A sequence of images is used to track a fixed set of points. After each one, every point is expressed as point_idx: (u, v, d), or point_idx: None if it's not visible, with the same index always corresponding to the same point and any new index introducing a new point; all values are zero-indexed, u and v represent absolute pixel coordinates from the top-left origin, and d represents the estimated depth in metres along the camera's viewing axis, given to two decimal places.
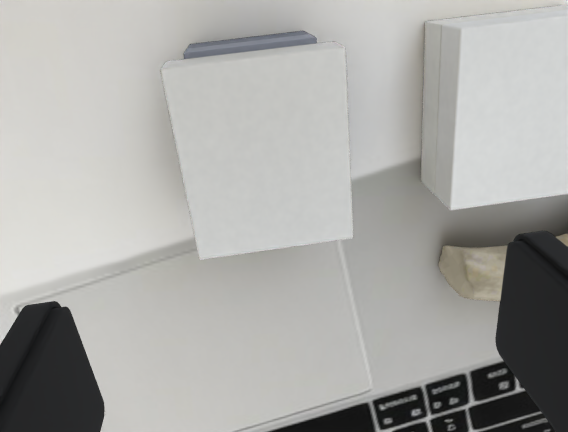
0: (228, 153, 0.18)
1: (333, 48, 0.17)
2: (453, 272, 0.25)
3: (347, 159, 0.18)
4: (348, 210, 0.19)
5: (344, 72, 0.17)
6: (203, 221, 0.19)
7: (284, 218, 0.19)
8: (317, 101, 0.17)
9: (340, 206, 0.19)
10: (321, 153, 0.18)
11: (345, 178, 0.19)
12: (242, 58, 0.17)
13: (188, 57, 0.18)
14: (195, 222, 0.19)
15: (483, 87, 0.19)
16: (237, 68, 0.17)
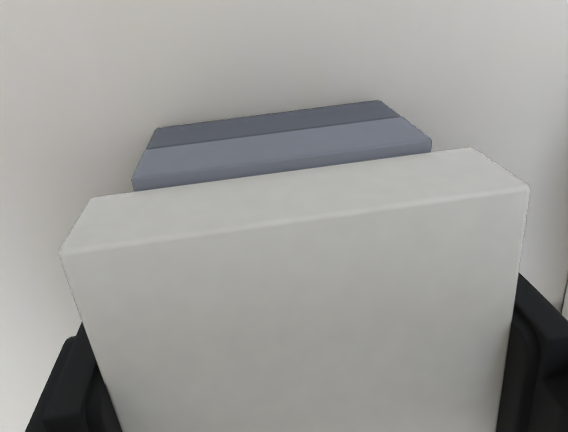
0: (234, 408, 0.08)
1: (501, 191, 0.07)
2: None
3: (495, 404, 0.08)
4: None
5: (519, 242, 0.07)
6: None
7: None
8: (446, 302, 0.07)
9: None
10: (441, 396, 0.08)
11: None
12: (271, 217, 0.06)
13: (142, 187, 0.08)
14: None
15: None
16: (258, 243, 0.06)
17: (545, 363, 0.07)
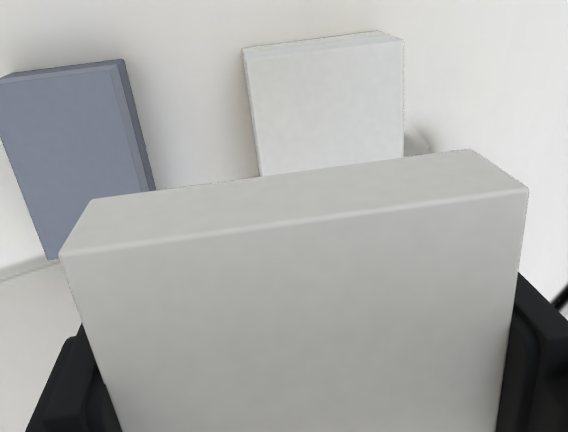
0: (233, 410, 0.08)
1: (500, 192, 0.07)
2: None
3: (495, 405, 0.08)
4: None
5: (518, 243, 0.07)
6: None
7: None
8: (446, 304, 0.07)
9: None
10: (439, 397, 0.08)
11: None
12: (270, 219, 0.07)
13: None
14: None
15: (278, 114, 0.20)
16: (257, 246, 0.06)
17: (545, 363, 0.07)
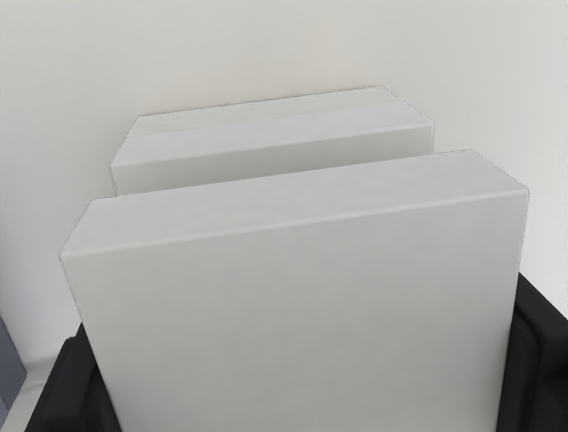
0: (234, 410, 0.08)
1: (501, 193, 0.07)
2: None
3: (495, 405, 0.08)
4: None
5: (519, 244, 0.07)
6: None
7: None
8: (446, 305, 0.07)
9: None
10: (440, 398, 0.08)
11: None
12: (271, 220, 0.07)
13: None
14: None
15: None
16: (258, 246, 0.07)
17: (546, 363, 0.07)
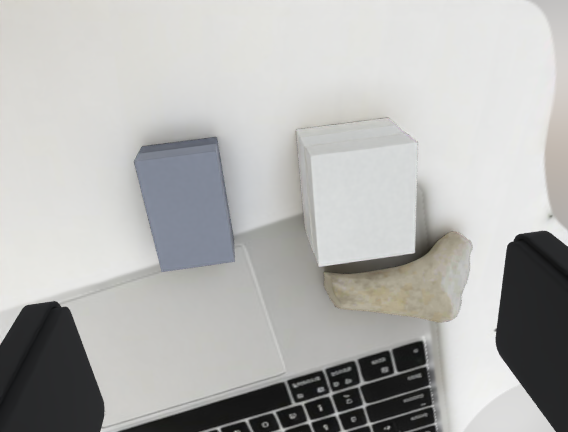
0: (343, 202, 0.29)
1: (411, 143, 0.28)
2: (329, 290, 0.37)
3: (414, 205, 0.30)
4: (413, 236, 0.31)
5: (416, 156, 0.28)
6: (324, 243, 0.30)
7: (373, 241, 0.31)
8: (399, 172, 0.29)
9: (408, 233, 0.31)
10: (399, 202, 0.30)
11: (412, 216, 0.30)
12: (357, 149, 0.28)
13: (136, 163, 0.29)
14: (319, 244, 0.30)
15: None
16: (354, 155, 0.28)
17: None
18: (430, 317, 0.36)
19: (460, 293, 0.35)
